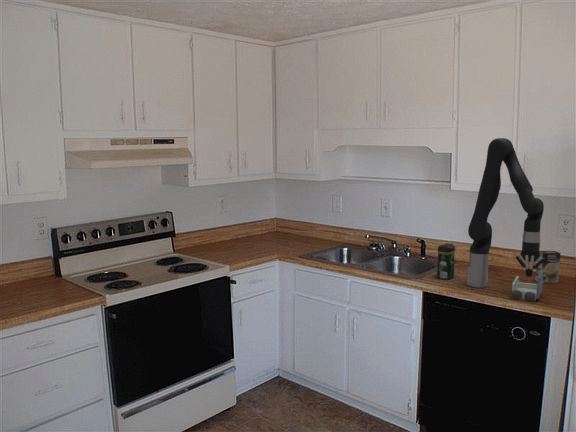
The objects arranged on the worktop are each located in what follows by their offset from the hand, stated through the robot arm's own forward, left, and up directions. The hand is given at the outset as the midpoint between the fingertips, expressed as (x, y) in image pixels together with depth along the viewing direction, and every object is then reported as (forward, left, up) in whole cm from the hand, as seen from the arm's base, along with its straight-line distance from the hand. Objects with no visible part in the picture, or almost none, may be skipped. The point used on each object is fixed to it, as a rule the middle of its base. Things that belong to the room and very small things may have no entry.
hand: (528, 276), depth 247 cm
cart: (-1, 0, -10) cm, 10 cm away
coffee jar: (-42, +13, -10) cm, 45 cm away
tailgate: (+5, 0, -8) cm, 9 cm away
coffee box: (+6, +31, -10) cm, 33 cm away
